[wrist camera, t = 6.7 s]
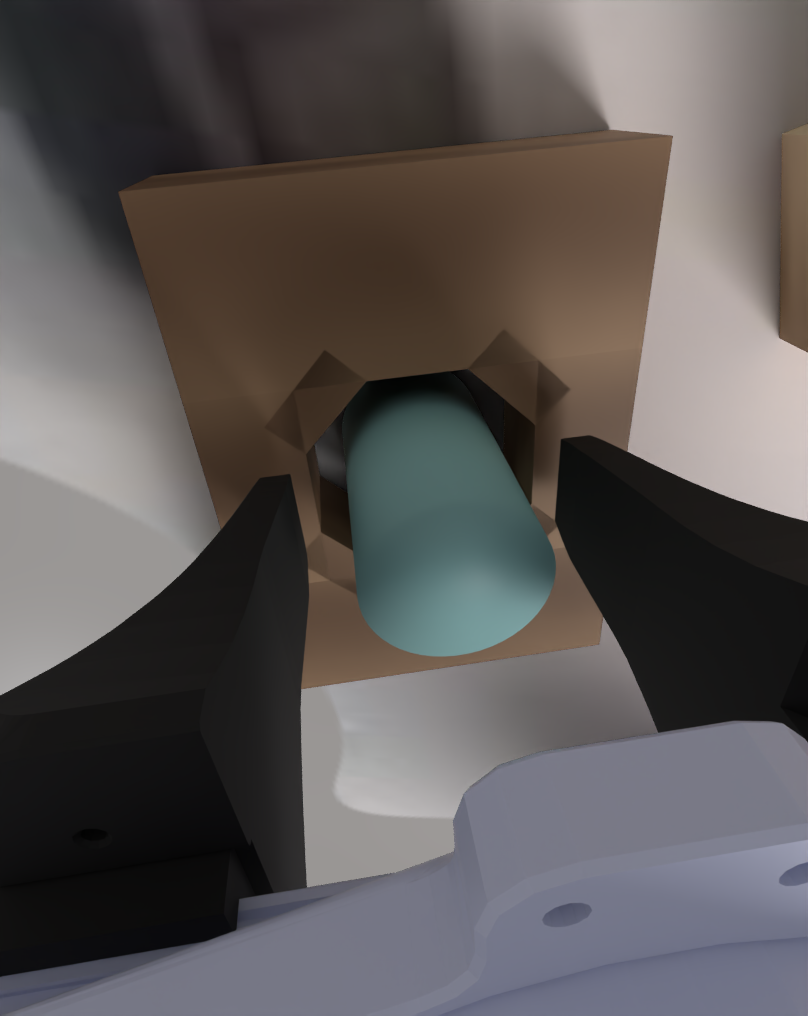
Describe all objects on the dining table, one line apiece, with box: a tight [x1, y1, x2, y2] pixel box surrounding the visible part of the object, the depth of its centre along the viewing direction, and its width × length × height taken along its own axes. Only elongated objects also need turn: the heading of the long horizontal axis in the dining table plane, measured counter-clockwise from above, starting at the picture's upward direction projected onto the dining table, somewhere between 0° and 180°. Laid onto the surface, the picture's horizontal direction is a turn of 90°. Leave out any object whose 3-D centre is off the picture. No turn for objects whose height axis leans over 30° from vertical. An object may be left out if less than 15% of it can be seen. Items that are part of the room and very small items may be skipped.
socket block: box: [118, 130, 673, 689], centre depth 14 cm, size 12×9×2 cm
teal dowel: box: [342, 371, 556, 657], centre depth 13 cm, size 3×3×6 cm
